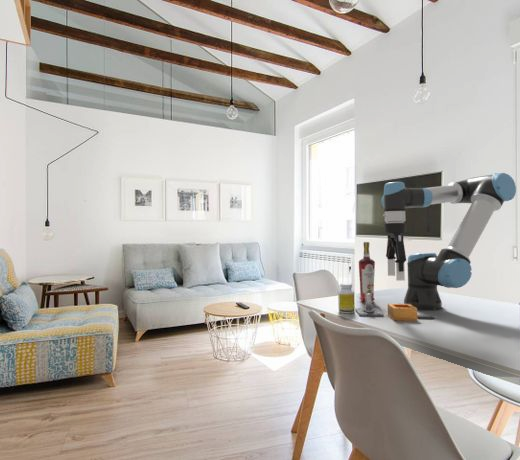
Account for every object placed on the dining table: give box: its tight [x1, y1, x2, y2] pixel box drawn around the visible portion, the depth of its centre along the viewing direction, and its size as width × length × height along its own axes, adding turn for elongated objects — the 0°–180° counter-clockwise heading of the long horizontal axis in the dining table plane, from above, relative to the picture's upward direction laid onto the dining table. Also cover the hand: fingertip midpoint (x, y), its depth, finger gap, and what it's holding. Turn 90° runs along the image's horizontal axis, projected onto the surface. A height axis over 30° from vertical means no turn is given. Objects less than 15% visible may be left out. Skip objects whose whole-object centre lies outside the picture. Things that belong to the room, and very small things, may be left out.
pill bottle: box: [337, 282, 356, 314], centre depth 147 cm, size 6×6×12 cm
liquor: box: [358, 241, 376, 303], centre depth 168 cm, size 7×7×28 cm
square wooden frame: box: [387, 303, 418, 322], centre depth 136 cm, size 8×8×4 cm
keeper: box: [355, 293, 385, 318], centre depth 144 cm, size 11×9×8 cm
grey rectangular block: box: [417, 314, 436, 320], centre depth 136 cm, size 6×2×1 cm, turn 84°
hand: (395, 277), depth 137 cm, fingers open, 13 cm apart
